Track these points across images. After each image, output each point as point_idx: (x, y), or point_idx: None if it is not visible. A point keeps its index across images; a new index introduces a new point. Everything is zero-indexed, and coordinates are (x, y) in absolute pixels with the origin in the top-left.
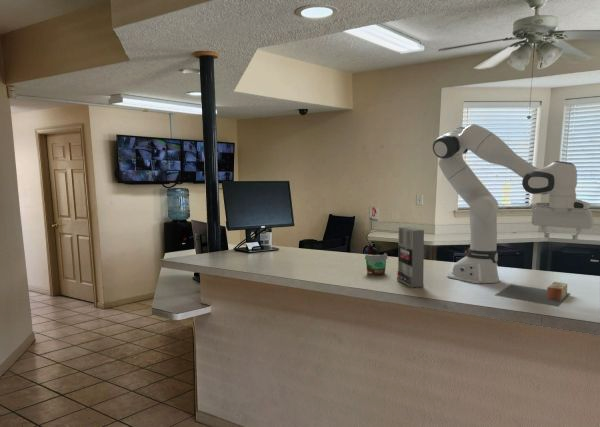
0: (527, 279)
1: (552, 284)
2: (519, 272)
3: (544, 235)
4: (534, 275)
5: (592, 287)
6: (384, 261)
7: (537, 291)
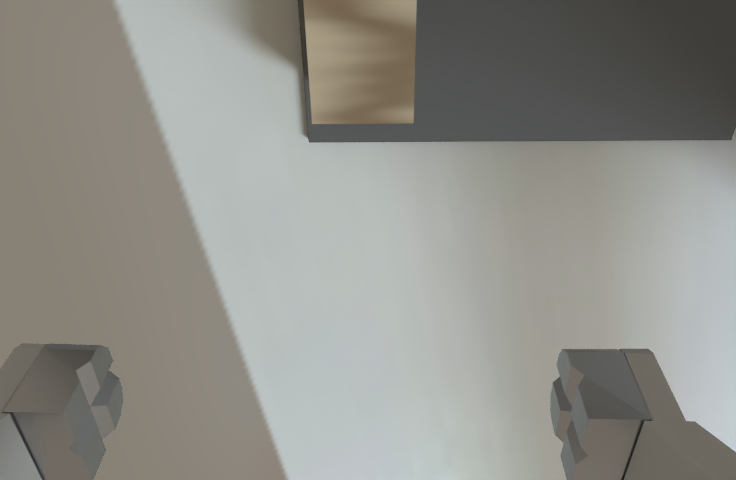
0: None
1: (405, 4)
2: None
3: (657, 372)
4: None
5: (260, 376)
6: None
7: (523, 39)
